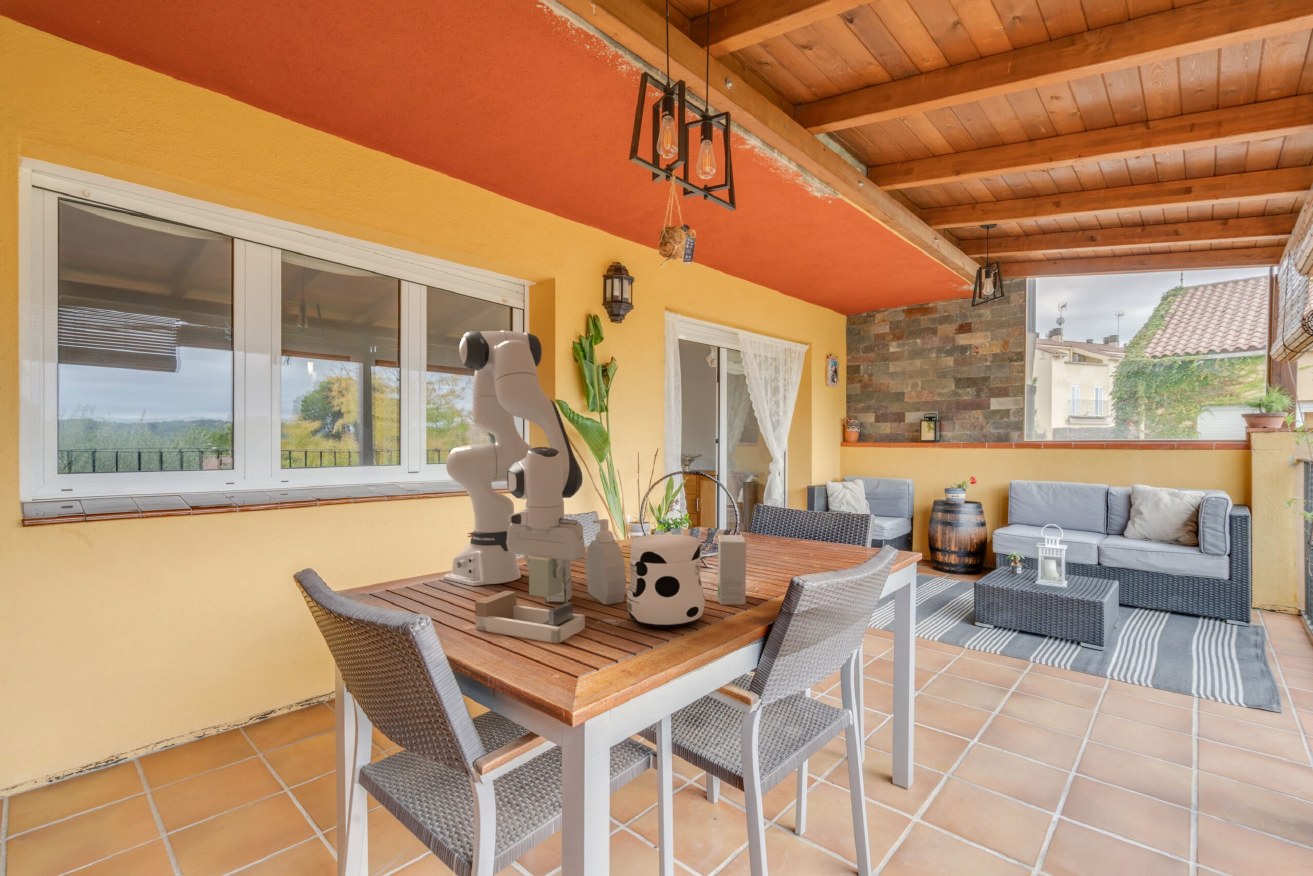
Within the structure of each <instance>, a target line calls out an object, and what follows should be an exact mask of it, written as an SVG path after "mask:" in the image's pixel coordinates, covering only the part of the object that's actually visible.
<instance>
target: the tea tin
mask: <svg viewBox="0 0 1313 876" xmlns="http://www.w3.org/2000/svg"><path fill="white" fill-rule="evenodd" d="M528 558H529V567H528V595H529V596H534V597H535V596H536V597H541V598H545V597H546V598H549V597H552V596H554V595H556V594H558V593H561V592H563V588H562V577H561V578H554V577H553V575H554V574H553V570H556V569H557V567H558V565H559V564H557V559H552V558H551V557H543V556H534V555H530V556H528Z"/></svg>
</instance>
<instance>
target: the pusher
mask: <svg viewBox="0 0 1313 876" xmlns="http://www.w3.org/2000/svg"><path fill="white" fill-rule="evenodd" d="M573 605H574V604H573V602H571V601H570V602H569V601H568V602H567V603H562V604H560V605H559V606H557V607H554V608H552V609H548V610H549V621H547V622H544V623H542V624H545V625H551V626H557V627H559V626H561V625H563V624H565V623H567V622H569V621H571V620H573V613H574V611H573V610H574V609H573V607H574V606H573Z"/></svg>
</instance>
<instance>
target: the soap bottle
mask: <svg viewBox="0 0 1313 876" xmlns="http://www.w3.org/2000/svg"><path fill="white" fill-rule="evenodd" d="M592 523H593V524H599V530H598V531H597V532H596V534H595V540H591V541H590V543H589V545H588V547H587V551H586V554H585V555H586V556H585V579H586V581H585V582H586V586H587V587H586V588H587V590H588V594H589V595H590V596H592V598H594V599H596V600H597V601H598V602H600V603H601V604H603V605H604V606H607V605H615V604H620V603H622V604H623V602H624V600H625V596H626V591H627V590H626V589H627V573H626V562H625V560H624V558H625V557H624V554H623V551H622V549H621V547H620V545H619V543H618V542H616V541H614V533H613V532H612V531H611V530H609V518H608V519H606V518H602V519H595V520H593V521H592Z"/></svg>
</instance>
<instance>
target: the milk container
mask: <svg viewBox="0 0 1313 876" xmlns="http://www.w3.org/2000/svg"><path fill="white" fill-rule="evenodd" d="M629 550H630V553H629V554H630V558H629V567H630V568H629V569H630V572H629V573H630V579H629V585H628V590H627V594H626V608H627V613H628V615H629V618H630V619H631V620H633V621H634V622H636V623H637V624H640V625H643V626H646V627H653V628H667V629H668V628H679V627H683V626H687V625H691V624H693V623H695V622H697V621H699V620H700V618H701V617H702V616H703V614H704V610H705V604H706V596H705V591H704V588H703V585H702V580H701V546H700V541H699V538H698V537H694V536H692V535H685V534H674V533H673V534H671V533H669V534H665V533H664V534H662V533H661V534H650V535H649V534H648V535H641V536H638V537H634V538H633V539H631V541H630V548H629Z"/></svg>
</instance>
